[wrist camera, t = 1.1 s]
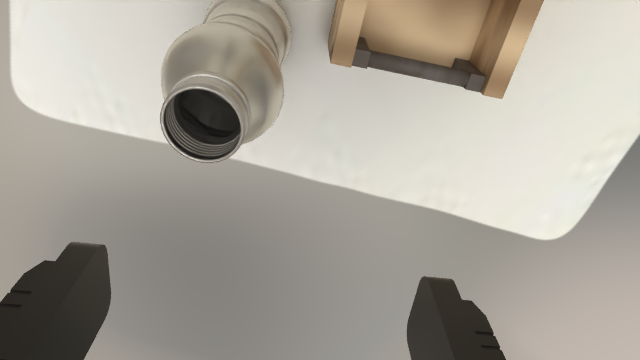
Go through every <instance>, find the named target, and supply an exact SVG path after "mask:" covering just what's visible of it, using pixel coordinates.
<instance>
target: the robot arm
mask: <svg viewBox="0 0 640 360" xmlns="http://www.w3.org/2000/svg"><path fill="white" fill-rule="evenodd" d="M110 300H111V287H110V277H109V266H108V254H107V249H106V247H105V245H101V244H90V243H80V242H71V243H69V244H68V246H67V247H66V248H65V249H64V251H63V252H62V253H61V255H60V256H59V257H58V259H57V260H56V261H43V262H41V263H40V264H38V265H37V266H35V267H34V268H32V269H31V270H29V271H27V272H26V273H24V274H23V276H22V277H21V278H20V279H19V280H18V282H17V283H16V284H15V285H14V286H13V288H12V289H11V292H10V293H8V294H7V295H6V296H5V297H4V299H3V300H2V301H1V302H0V360H84V358H85V356H86V354H87V352H88V350H89V349H90V347H91V345H92V343H93V341H94V339H95V337H96V335H97V333H98V331H99V329H100V328H101V326H102V324H103V322H104V320H105V318H106V316H107V313H108V310H109V306H110ZM407 342H408V347H409V351H410V355H411V359H412V360H506V359H505V357H504V354H503V352H502V350H500V346H499V344H498V341H497V339H496V337H495V336H493V330H492V328H491V326H490V324H489V322H488V320H487V317H486V316H485V315H484V314H483V312H481V310H480V309H479V308H478V307H477V306H476V305H475V304H474V303H473V302H472V301H469V300H462V299H461V297H460V294H459V292H458V290H457V287H456V285H455V282H454V281H453V280H452V279H446V278H436V277H426V276H424V277H422V278H421V280H420V283H419V286H418V289H417V293H416V296H415V299H414V302H413V306H412V309H411V312H410V316H409V319H408V324H407Z"/></svg>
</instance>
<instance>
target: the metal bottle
mask: <svg viewBox="0 0 640 360" xmlns="http://www.w3.org/2000/svg"><path fill="white" fill-rule="evenodd" d="M290 46H291V29H290V24H289V21H288V19H287V17H286V14H285V13H284V11H283V10H282V8H281V7H280V6H279V5H278V4H277V3H276V1H275V0H214V1H213V2H212V3H211V4H210V6H209V8H208V10H207V12H206V16H205V19H204V23H203V24H201V25H199V26H196V27H194V28H192V29H190V30H189V31H187V32H185V33H184V34H183V35H181V36H180V37H178V38H177V39H176V40H175V41H174V43H173V44H172V45H171V46H170V47H169V49H168V51H167V53H166V55H165V57H164V61H163V65H162V71H161V85H162V92H163V97H164V100H165V101H164V103H163V106H162V109H161V113H160V123H161V128H162V131H163V134H164V136H165V138H166V139H167V141H168V142H169V144H170V145H171V146H172V147H173V148H174V149H175V150H176V151H177V152H179V153H180V154H181V155H183V156H185V157H187V158H189V159H191V160H194V161H198V162H202V163H214V162H220V161H222V160H225V159H227V158H229V157H230V156H232V155H233V154H234V153H235V152H236V151H237V150H238V149H239V147H240V146H241V144H244V143H247V142H250V141H252V140H254V139H255V138H257V137H259V136H260V135H262V134H263V133H264V132H265V131H266V130H267V129H268V128H269V127H270V126H272V124H273V123H274V121H275V120H276V118H277V117H278V115H279V112H280V110H281V107H282V103H283V97H284V89H283V77H282V73H281V69H280V67H281V65H282V64H283V62H284V61H285V59H286V58H287V56H288V53H289V50H290Z"/></svg>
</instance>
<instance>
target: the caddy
mask: <svg viewBox="0 0 640 360" xmlns="http://www.w3.org/2000/svg"><path fill="white" fill-rule="evenodd" d="M543 1H544V0H337V3H336V7H335V12H334V17H333V21H332V26H331V30H330V35H329V39H328V49H329V56H330V63H331V64H336V65H341V66H346V67H351V66H357V67H361V68H366V69H367V67H370V68H375V69H380V70H385V71H390V72H394V73H399V74H404V75H409V76H414V77H418V78H423V79H428V80H433V81H437V82H442V83H447V84H452V85H457V86H461V87H464V88H465V89H467V90H472V91H476V92H481V93H482V94H483V95H485V96H490V97H495V98H500V99H502V98H503V96H504V93H505V91H506V89H507V86H508V84H509V82H510V79H511V77H512V74H513V72H514V70H515V67H516V65H517V63H518V60H519V58H520V56H521V53H522V51H523V48H524V46H525V44H526V41H527V39H528V37H529V34H530V32H531V30H532V27H533V25H534V22H535V20H536V18H537V15H538V13H539V11H540V8H541V6H542V3H543Z"/></svg>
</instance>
